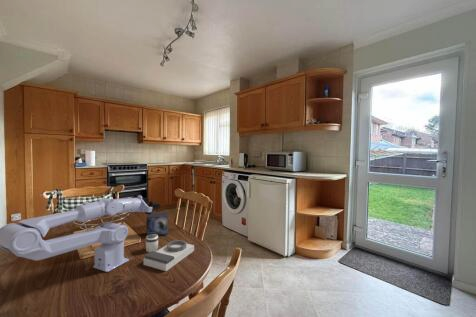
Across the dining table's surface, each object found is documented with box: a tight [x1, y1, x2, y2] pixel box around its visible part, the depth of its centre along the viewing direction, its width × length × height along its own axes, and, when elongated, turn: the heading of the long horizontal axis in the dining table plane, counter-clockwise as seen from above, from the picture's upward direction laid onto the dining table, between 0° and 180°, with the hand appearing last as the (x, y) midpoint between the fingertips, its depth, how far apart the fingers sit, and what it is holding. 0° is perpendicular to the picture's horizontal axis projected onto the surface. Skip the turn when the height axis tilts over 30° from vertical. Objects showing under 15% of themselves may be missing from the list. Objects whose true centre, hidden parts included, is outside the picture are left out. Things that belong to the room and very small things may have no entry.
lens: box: [145, 234, 159, 253], centre depth 96 cm, size 5×5×6 cm
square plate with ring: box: [143, 239, 195, 272], centre depth 89 cm, size 18×11×4 cm, turn 157°
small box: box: [145, 212, 169, 238], centre depth 114 cm, size 11×6×10 cm, turn 105°
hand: (153, 203), depth 101 cm, fingers open, 7 cm apart
